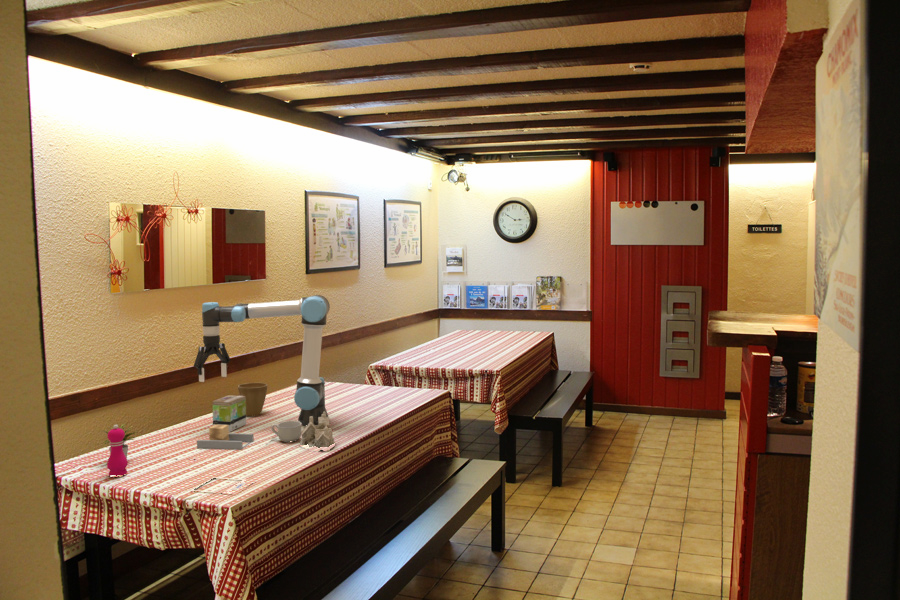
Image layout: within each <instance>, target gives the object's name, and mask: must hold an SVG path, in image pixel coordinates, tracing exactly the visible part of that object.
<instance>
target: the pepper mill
mask: <svg viewBox="0 0 900 600" xmlns="http://www.w3.org/2000/svg"><path fill="white" fill-rule="evenodd" d="M112 428H113V429H110V430H108V431H109V432H108V431H107V432H108V434H107V436H106V438H107V437H108V438H107V440H108V441H110V442H109V443H108V445H109V447H111V454H110V453H109V454H110V455H109V457H108V459H107V463H106V468H107V469H108V476H109V475H116V476H117V475H124V474H126V473H128V469H126V468H127V466H128V464H129V463H128V461H129V460H128V457H127V458H126V456H125V455H124V452H123V447H122V446H123V444H125V442H124V443H123V441H124V440H123V438H124V436H125V435H126V433H124V432H125V430H124V429H123V430H122V429H120V427H119V424H118V425H117V423H116V424H114V425H113V426H112Z"/></svg>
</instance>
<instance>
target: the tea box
mask: <svg viewBox="0 0 900 600" xmlns="http://www.w3.org/2000/svg"><path fill="white" fill-rule="evenodd" d="M246 424H247V416H246V396H240V395H235V394H234V395H229V394H228V395H226V396H222V397H220V398H218V399H215V400H213V401H212V426H214V425H228V431H229V433H232V432H233V431H234V430H236V429H239V428H241V427H242V426H243V427H244V426H246Z"/></svg>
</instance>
